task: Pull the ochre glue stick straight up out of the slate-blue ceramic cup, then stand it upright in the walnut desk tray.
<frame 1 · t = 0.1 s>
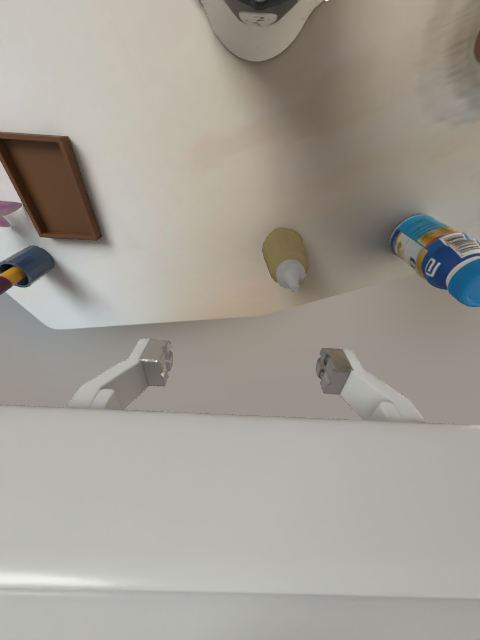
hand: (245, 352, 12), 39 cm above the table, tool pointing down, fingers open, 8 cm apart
glue stick: (38, 259, 51), point 1 cm above the table, touching pen cup
squeeze bottle: (280, 241, 48), on the table
desk tray: (56, 190, 42), on the table
pen cup: (40, 258, 51), on the table
beverage bottle: (409, 234, 47), on the table
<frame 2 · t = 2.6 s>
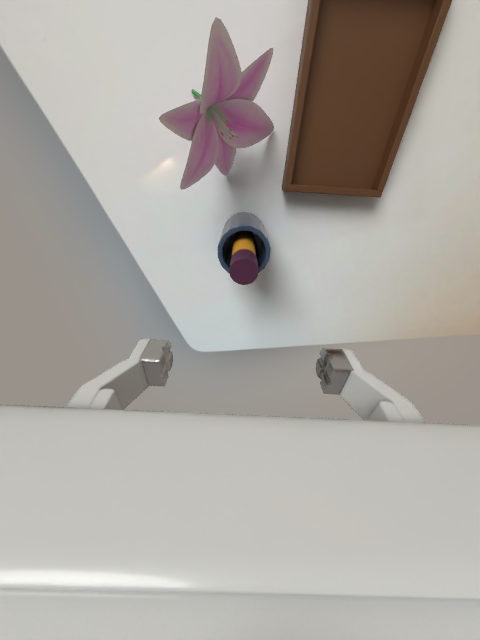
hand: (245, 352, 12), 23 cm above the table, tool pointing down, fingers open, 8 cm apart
glue stick: (243, 236, 31), point 1 cm above the table, touching pen cup
lily: (223, 128, 25), on the table
desk tray: (349, 102, 24), on the table
pen cup: (243, 235, 32), on the table
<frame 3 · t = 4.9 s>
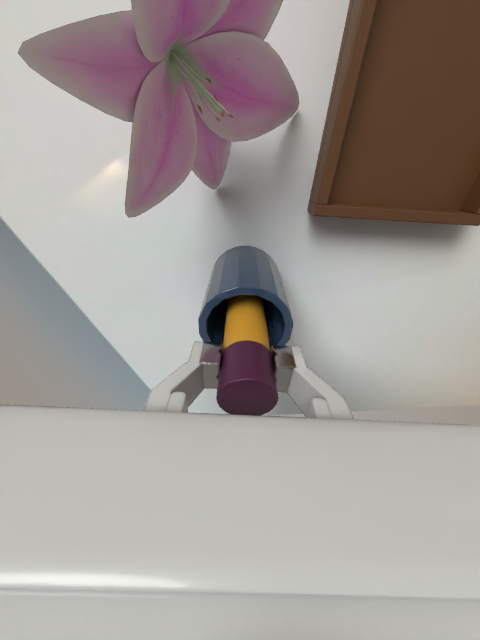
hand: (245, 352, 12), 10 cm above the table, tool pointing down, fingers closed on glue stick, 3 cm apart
glue stick: (244, 281, 20), point 1 cm above the table, touching gripper
lily: (208, 107, 14), on the table
desk tray: (443, 53, 13), on the table
pen cup: (244, 278, 20), on the table
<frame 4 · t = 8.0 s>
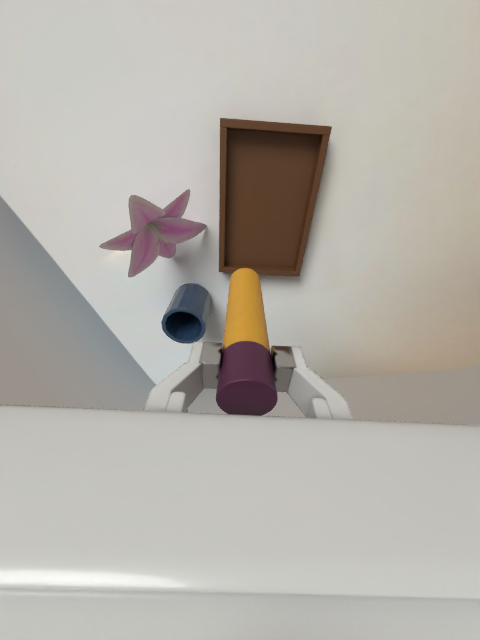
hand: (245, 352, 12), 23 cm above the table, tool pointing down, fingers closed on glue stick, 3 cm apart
glue stick: (244, 281, 20), point 14 cm above the table, touching gripper
lily: (166, 225, 31), on the table
desk tray: (265, 208, 29), on the table
pen cup: (193, 299, 37), on the table
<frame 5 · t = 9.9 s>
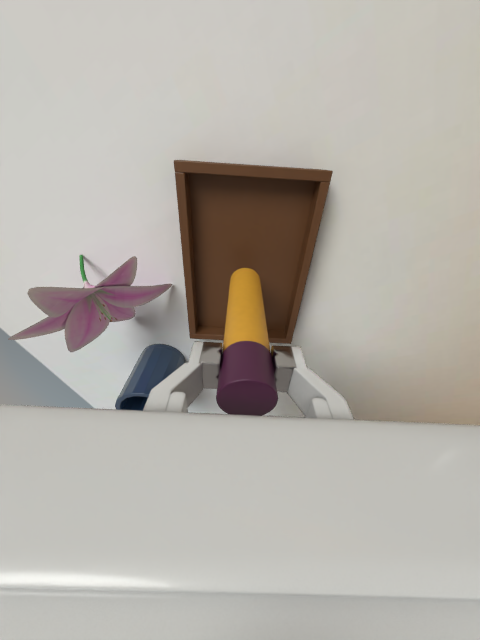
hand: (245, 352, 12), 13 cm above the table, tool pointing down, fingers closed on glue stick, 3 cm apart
glue stick: (245, 281, 20), point 4 cm above the table, touching gripper
lily: (121, 282, 24), on the table
desk tray: (245, 264, 23), on the table
pen cup: (163, 360, 31), on the table
when the fingers open (9 cm above the table, at t = 11.1 s): glue stick stays where it is, resting on desk tray.
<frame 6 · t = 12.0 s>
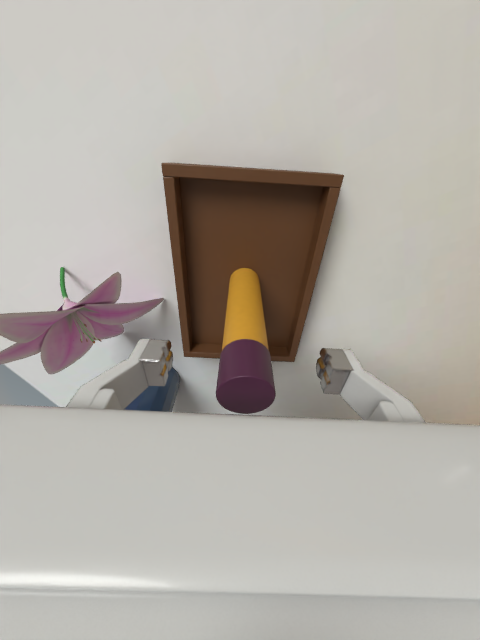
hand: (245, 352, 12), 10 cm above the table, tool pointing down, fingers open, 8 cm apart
glue stick: (244, 281, 20), point 1 cm above the table, touching desk tray
lily: (108, 296, 22), on the table
desk tray: (244, 277, 21), on the table
pen cup: (156, 377, 28), on the table
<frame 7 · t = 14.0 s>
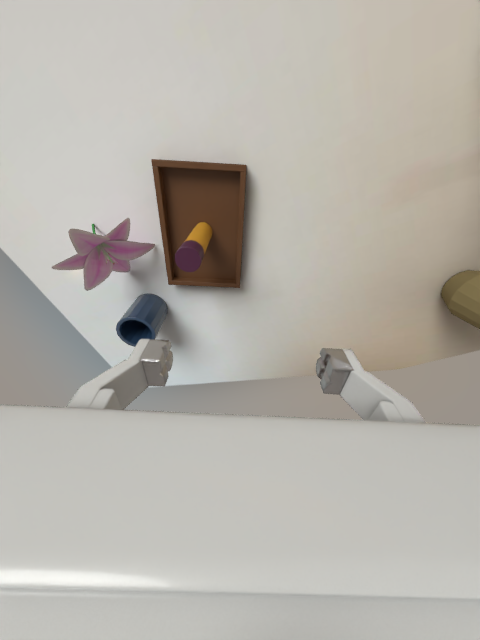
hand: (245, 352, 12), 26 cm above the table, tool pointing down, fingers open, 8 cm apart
glue stick: (203, 231, 33), point 1 cm above the table, touching desk tray
squeeze bottle: (458, 285, 39), on the table
lily: (120, 244, 35), on the table
desk tray: (204, 229, 34), on the table
pen cup: (151, 307, 41), on the table
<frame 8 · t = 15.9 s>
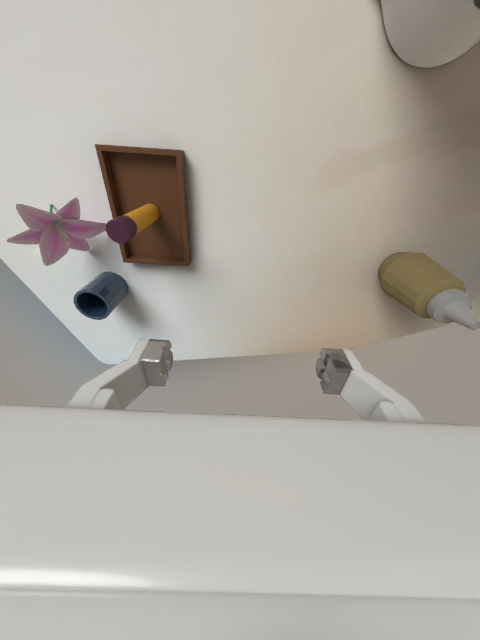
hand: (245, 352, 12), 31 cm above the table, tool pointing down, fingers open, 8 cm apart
glue stick: (151, 212, 37), point 1 cm above the table, touching desk tray
squeeze bottle: (394, 267, 42), on the table
lily: (78, 224, 39), on the table
desk tray: (152, 211, 37), on the table
pen cup: (112, 285, 45), on the table
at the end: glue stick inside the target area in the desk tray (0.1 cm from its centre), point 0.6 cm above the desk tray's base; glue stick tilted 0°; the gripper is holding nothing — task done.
